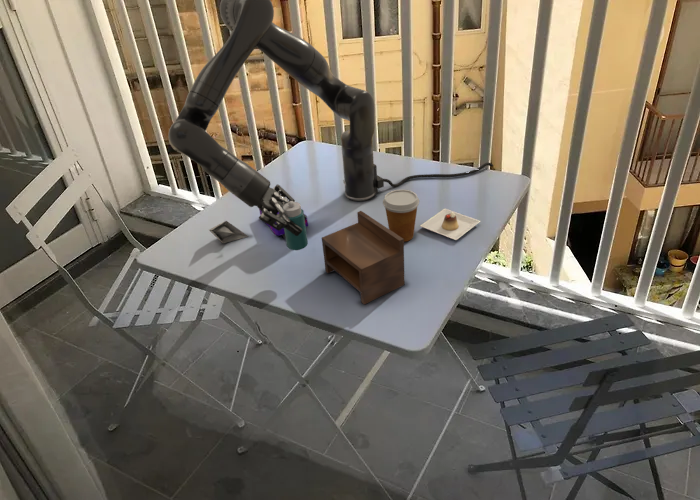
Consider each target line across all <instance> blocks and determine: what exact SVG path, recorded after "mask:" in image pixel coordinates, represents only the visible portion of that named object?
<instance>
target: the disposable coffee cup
mask: <svg viewBox="0 0 700 500" xmlns="http://www.w3.org/2000/svg"><path fill="white" fill-rule="evenodd" d="M382 205H383V206H384V208H385V209H384V210H385V215H386V220H387V226H388V229H389V230H391V231H392V232H394V233H395V234H397V235H398V236H400V237H401V238H403V239H404V243H405V242H409V241H411V240H413V238H414V235H415V228H416V221H417V212H418V206H419V205H420V199H419V197H418V194H417V193H416V192H414V191H413V190H410V189H395V190H392V191H389V192H388V193H386V194H385V195H384V199H383V200H382Z"/></svg>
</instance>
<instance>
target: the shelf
mask: <svg viewBox="0 0 700 500" xmlns="http://www.w3.org/2000/svg"><path fill="white" fill-rule="evenodd" d="M356 214H357V215H356V216H357V222H356V223H354V224H353V223H352V224H351V225H348V226H347V227H344V228H340V229H339V230H337V231H333V232H331V233H329V234H327V235H324V236H322V237H321V244H322V253H323V261H324V268H325V272H326V273H327V274H330V273H332V272H336V273H337V274H338V275H339V276H341V277H342V278H343V279H344V280H345V281H346V282H348V283H349V284H350V285H351V286H352V287H354V288H355V289H356V290H357V291H359V293H360V302H361V304H363V305H364V306H365V305H366V304H368V303H371V302H373V301H374V300H377V299H379V298H381V297H383V296H385V295H387V294H389V293H391V292H392V291H395V290H397V289H399V288H401V287H403V286H405V281H406V280H405V242H404V239H403V238H401V237H400V236H398V235H397V234H395V233H394V232H392V231H391V230H389V227H386V226H385V225H384V224H382V223H380V222H379V221H377V220H376V219H375V218H373V217H372V216H370V215H368V214H367V213H366V212H364V211H362V210H359V211H357V213H356Z"/></svg>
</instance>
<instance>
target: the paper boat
mask: <svg viewBox="0 0 700 500" xmlns="http://www.w3.org/2000/svg"><path fill="white" fill-rule="evenodd" d="M208 231H209V232H210V233H211V234H212V235H213V236H214V237H215V238H216V239H217V240H219V241H220V242H221V243H222V244H226V243H230V242H233V241H237V240H241V239H244V238H249V235H248V234H246V233H244V232H243V231H242V230H240V229H239V228H238V227H236V226H235V225H233V224H232V223H230V222H229V221H228V220H224V221H223V222H221V223H219V224H217V225H215V226H213V227H211V228H210V229H208Z"/></svg>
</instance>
